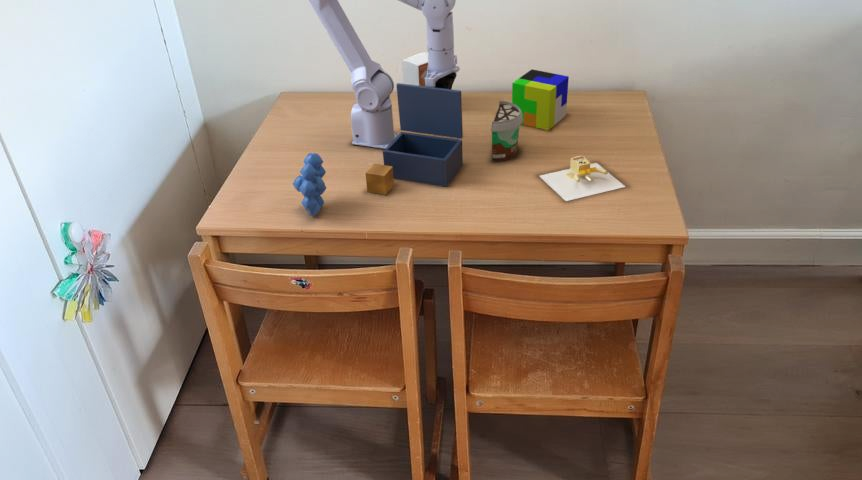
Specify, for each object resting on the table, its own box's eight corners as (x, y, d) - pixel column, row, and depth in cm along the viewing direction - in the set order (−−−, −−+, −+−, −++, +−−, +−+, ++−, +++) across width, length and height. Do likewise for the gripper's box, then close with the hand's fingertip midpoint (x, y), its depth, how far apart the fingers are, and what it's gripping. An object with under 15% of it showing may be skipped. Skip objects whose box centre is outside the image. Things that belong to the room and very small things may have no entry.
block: (367, 192, 163) (365, 172, 160) (375, 182, 166) (374, 163, 163) (386, 195, 161) (384, 175, 159) (394, 185, 165) (392, 166, 162)
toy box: (447, 187, 163) (446, 160, 160) (384, 177, 168) (382, 151, 164) (462, 165, 171) (462, 140, 167) (403, 156, 175) (401, 131, 172)
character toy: (579, 174, 158) (560, 158, 164) (578, 188, 160) (560, 172, 166) (612, 166, 160) (593, 151, 166) (611, 180, 162) (592, 164, 168)
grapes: (303, 194, 163) (295, 143, 156) (334, 195, 162) (327, 143, 155) (289, 223, 154) (279, 170, 146) (322, 224, 153) (314, 171, 146)
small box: (420, 115, 193) (418, 65, 185) (404, 108, 197) (400, 59, 189) (443, 105, 197) (442, 56, 190) (427, 99, 201) (424, 50, 193)
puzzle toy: (566, 115, 191) (568, 76, 185) (548, 130, 184) (550, 90, 178) (530, 107, 195) (531, 69, 189) (511, 121, 188) (512, 82, 182)
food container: (518, 165, 170) (519, 124, 164) (491, 164, 171) (491, 122, 165) (524, 141, 180) (526, 101, 174) (499, 139, 181) (499, 99, 175)
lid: (460, 92, 160) (461, 90, 160) (396, 84, 164) (397, 82, 165) (461, 138, 167) (462, 137, 167) (400, 130, 171) (401, 128, 172)
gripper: (446, 60, 158) (448, 121, 166) (469, 37, 169) (470, 95, 177) (414, 56, 160) (418, 117, 168) (439, 34, 171) (441, 92, 179)
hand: (442, 105), depth 173 cm, fingers closed
